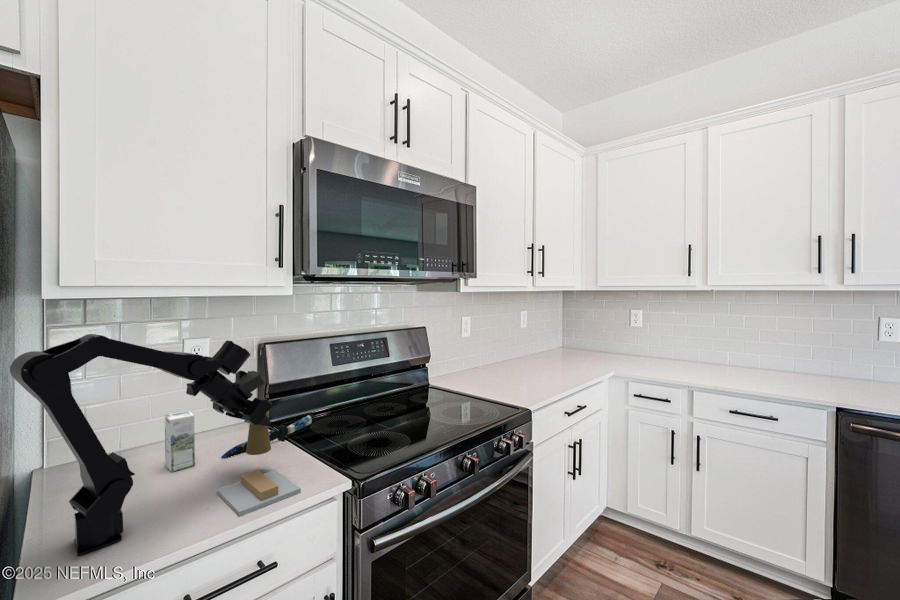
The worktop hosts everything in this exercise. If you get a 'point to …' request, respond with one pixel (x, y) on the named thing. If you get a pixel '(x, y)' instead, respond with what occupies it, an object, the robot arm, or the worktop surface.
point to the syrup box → (179, 440)
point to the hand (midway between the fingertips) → (263, 422)
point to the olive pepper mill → (258, 439)
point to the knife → (273, 435)
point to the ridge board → (250, 501)
